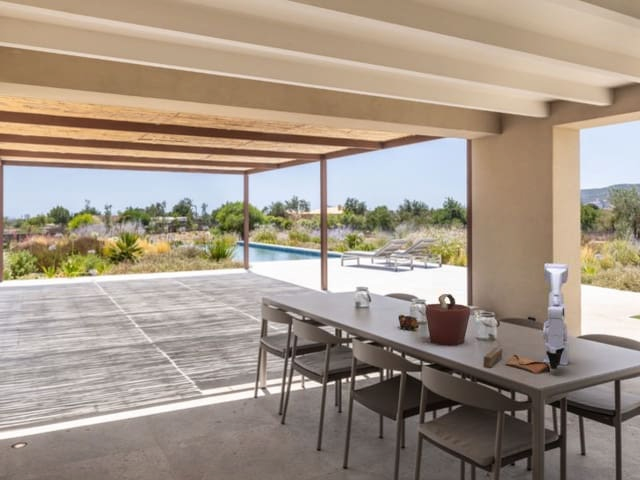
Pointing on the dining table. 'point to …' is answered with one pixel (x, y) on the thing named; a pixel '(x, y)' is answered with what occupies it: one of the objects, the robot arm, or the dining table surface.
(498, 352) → the stop bar
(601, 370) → the dining table surface
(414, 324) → the decorative turtle
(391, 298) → the dining table surface
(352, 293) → the dining table surface
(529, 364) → the sunglasses case
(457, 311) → the bucket
